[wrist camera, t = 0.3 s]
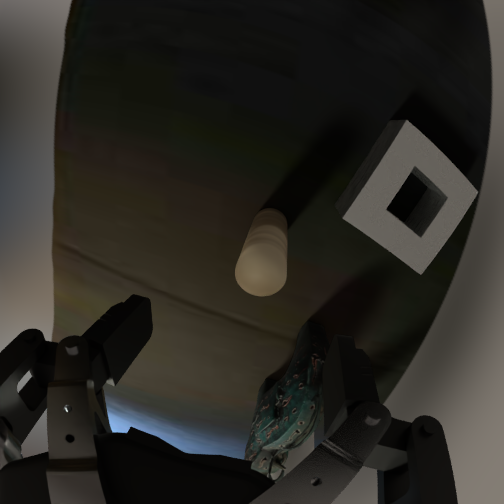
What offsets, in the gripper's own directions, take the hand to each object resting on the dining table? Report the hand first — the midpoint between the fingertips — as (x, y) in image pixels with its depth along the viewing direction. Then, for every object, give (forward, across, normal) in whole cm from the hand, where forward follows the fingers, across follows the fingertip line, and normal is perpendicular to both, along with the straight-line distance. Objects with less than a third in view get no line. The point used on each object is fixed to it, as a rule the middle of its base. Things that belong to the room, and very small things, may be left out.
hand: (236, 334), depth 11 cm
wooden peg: (+22, +1, +1) cm, 22 cm away
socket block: (+22, -14, -5) cm, 27 cm away
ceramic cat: (+24, -5, +23) cm, 34 cm away
